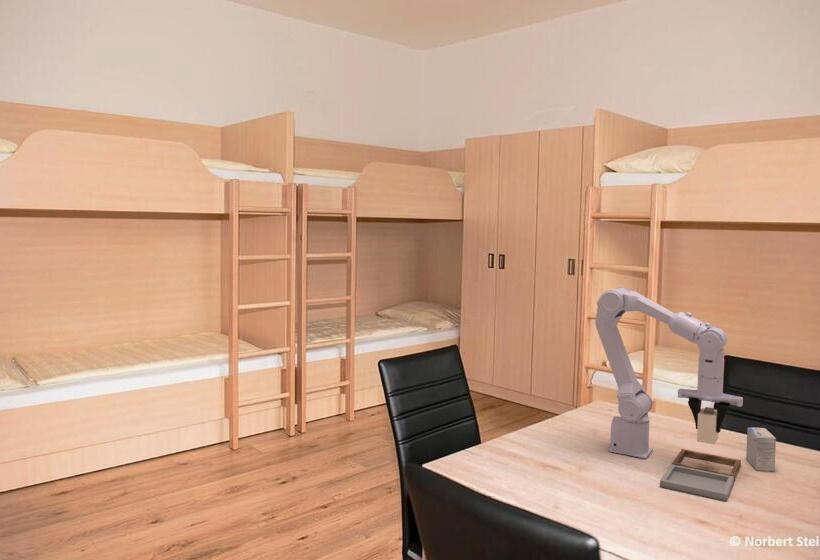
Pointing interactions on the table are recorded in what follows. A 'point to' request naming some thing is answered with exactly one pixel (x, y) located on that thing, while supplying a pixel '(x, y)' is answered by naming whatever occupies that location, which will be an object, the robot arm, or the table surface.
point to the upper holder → (708, 457)
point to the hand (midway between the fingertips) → (708, 429)
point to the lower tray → (697, 482)
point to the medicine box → (761, 449)
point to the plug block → (707, 426)
